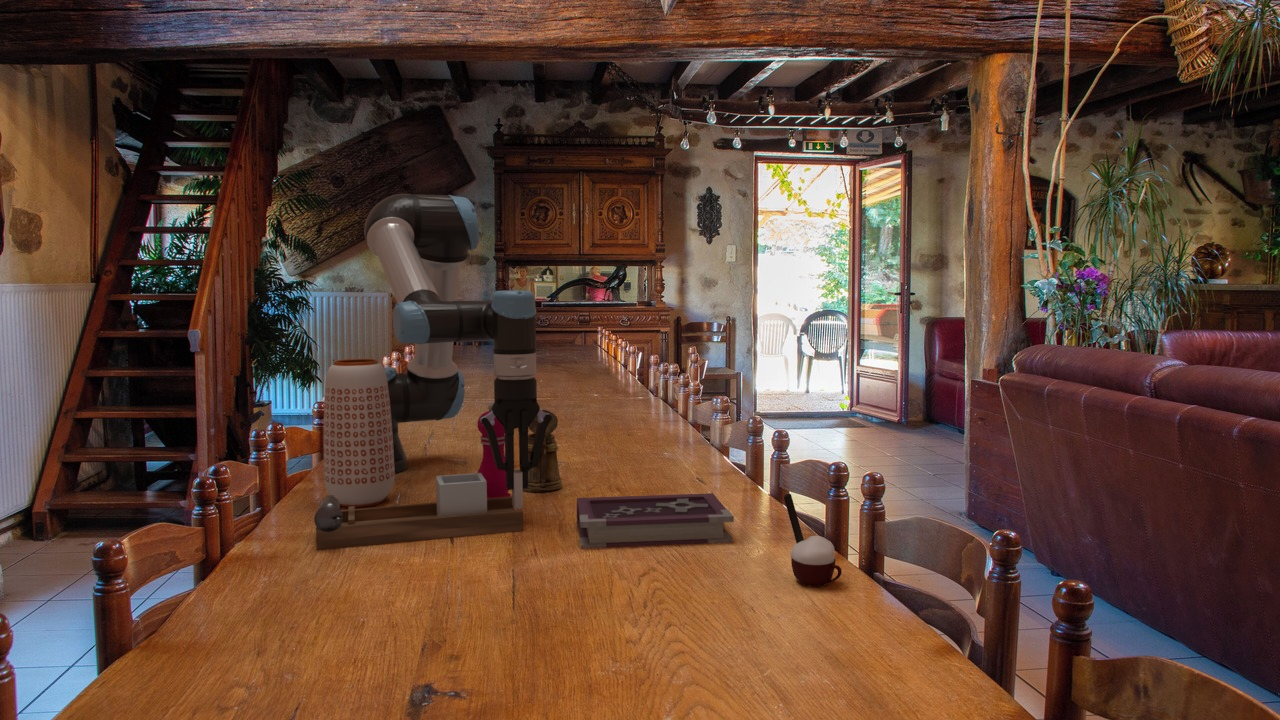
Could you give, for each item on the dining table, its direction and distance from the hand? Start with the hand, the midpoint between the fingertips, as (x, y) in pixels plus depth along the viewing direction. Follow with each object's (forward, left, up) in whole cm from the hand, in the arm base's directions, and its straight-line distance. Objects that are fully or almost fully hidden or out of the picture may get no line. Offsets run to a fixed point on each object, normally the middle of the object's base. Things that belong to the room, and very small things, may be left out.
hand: (517, 506), depth 157 cm
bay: (0, -17, -3) cm, 17 cm away
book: (+13, +21, -4) cm, 25 cm away
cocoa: (+44, +35, -3) cm, 57 cm away
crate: (0, -10, -1) cm, 10 cm away
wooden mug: (-23, +9, -3) cm, 24 cm away
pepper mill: (-15, -2, -3) cm, 15 cm away
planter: (-25, -27, -3) cm, 37 cm away
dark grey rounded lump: (+2, -32, -1) cm, 32 cm away
